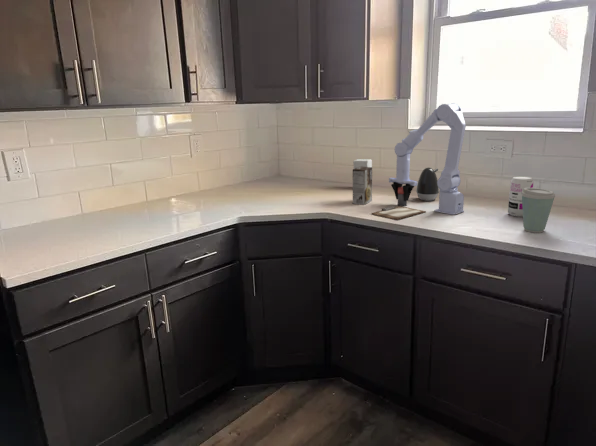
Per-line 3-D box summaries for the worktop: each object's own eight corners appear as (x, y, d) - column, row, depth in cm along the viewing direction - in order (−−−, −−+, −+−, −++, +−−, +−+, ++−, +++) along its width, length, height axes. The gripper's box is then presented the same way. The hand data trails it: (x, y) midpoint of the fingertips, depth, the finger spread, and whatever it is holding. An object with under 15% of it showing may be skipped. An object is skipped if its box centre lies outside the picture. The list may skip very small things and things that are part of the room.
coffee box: (359, 199, 225) (360, 166, 221) (372, 200, 222) (372, 166, 218) (351, 203, 218) (351, 169, 213) (364, 204, 214) (365, 169, 210)
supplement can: (531, 213, 190) (534, 176, 187) (528, 218, 184) (532, 180, 180) (509, 211, 194) (512, 175, 191) (506, 216, 188) (509, 178, 184)
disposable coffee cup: (541, 226, 172) (545, 185, 168) (557, 234, 162) (562, 191, 158) (512, 227, 172) (516, 186, 168) (527, 235, 162) (531, 192, 158)
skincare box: (372, 188, 252) (372, 159, 248) (367, 190, 247) (367, 160, 243) (358, 187, 256) (358, 158, 252) (353, 189, 251) (353, 160, 247)
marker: (408, 205, 211) (409, 187, 209) (402, 206, 209) (403, 188, 206) (401, 203, 214) (401, 186, 212) (395, 205, 212) (395, 187, 210)
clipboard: (425, 212, 197) (426, 208, 196) (397, 220, 186) (397, 216, 186) (399, 207, 208) (399, 203, 207) (371, 214, 197) (371, 210, 196)
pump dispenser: (443, 200, 218) (445, 167, 214) (424, 202, 214) (426, 169, 210) (429, 196, 227) (431, 165, 223) (411, 198, 223) (412, 167, 220)
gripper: (422, 170, 204) (421, 200, 208) (396, 167, 215) (395, 196, 219) (411, 172, 200) (410, 203, 203) (385, 169, 211) (385, 198, 215)
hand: (402, 199), depth 211 cm, fingers closed on marker, 4 cm apart
